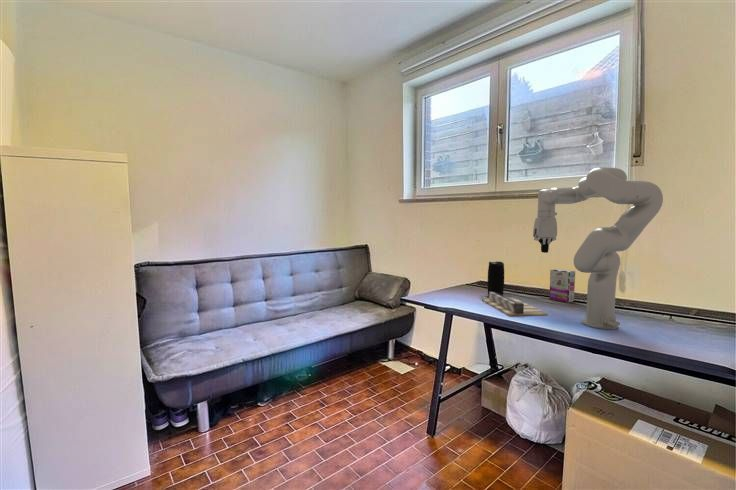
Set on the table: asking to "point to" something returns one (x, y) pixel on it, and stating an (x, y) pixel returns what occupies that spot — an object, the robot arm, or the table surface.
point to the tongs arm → (505, 297)
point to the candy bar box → (562, 285)
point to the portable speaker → (496, 277)
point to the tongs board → (512, 306)
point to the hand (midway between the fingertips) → (544, 252)
